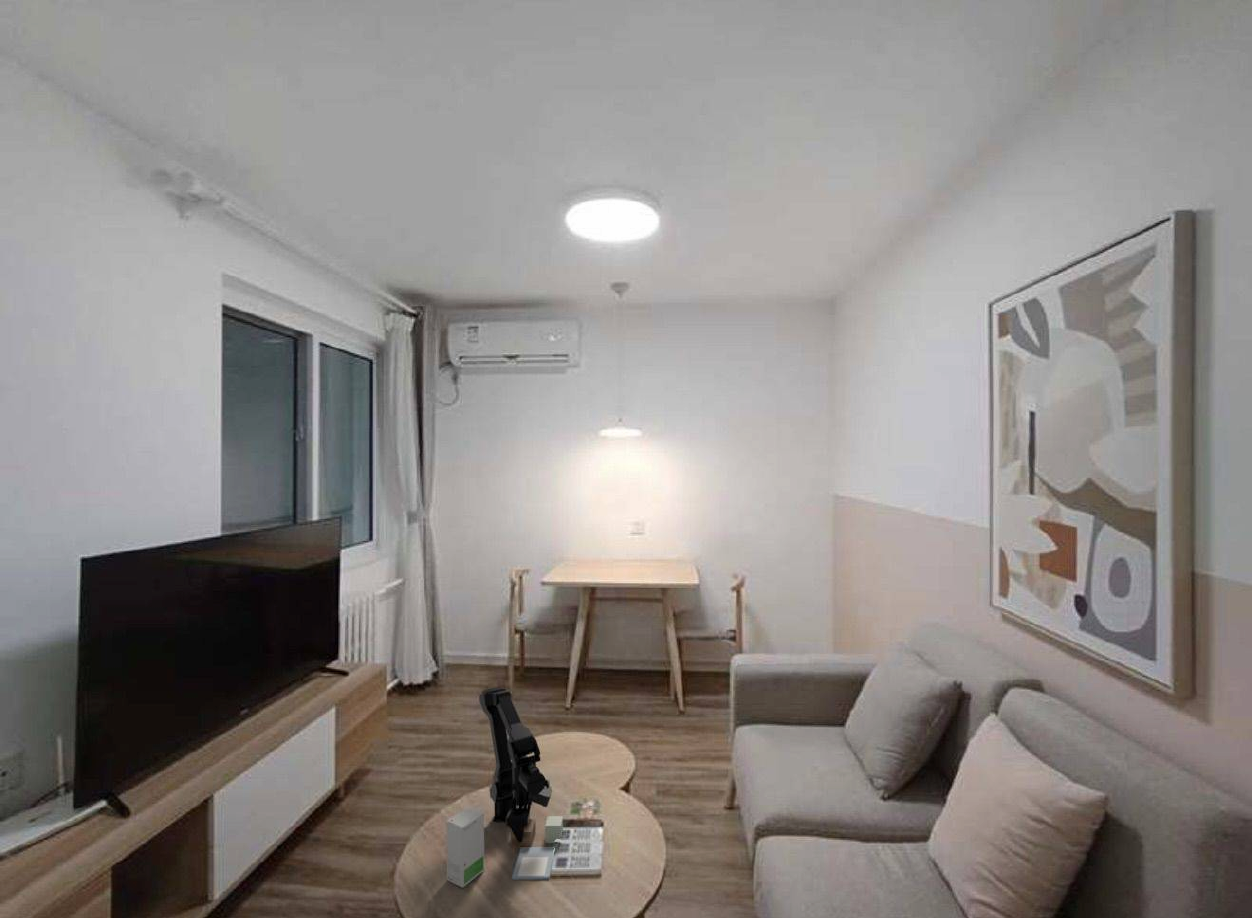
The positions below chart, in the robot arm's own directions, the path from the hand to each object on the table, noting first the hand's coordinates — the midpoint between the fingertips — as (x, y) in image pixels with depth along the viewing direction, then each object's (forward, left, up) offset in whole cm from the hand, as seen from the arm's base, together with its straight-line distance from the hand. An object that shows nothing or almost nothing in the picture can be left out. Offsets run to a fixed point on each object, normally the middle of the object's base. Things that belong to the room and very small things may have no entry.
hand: (523, 831), depth 167 cm
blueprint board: (+5, -10, -2) cm, 12 cm away
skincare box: (-13, -14, -3) cm, 19 cm away
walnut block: (0, 0, -3) cm, 3 cm away
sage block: (+9, +1, -2) cm, 9 cm away
